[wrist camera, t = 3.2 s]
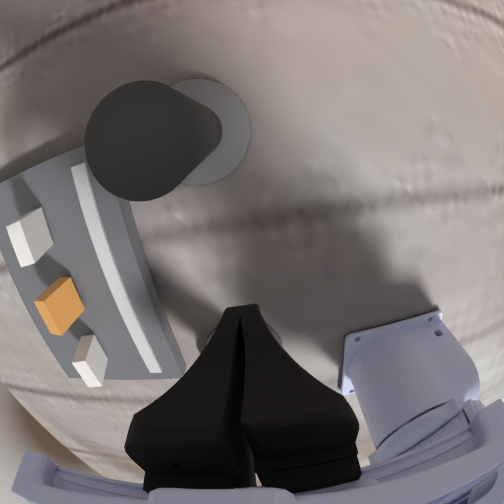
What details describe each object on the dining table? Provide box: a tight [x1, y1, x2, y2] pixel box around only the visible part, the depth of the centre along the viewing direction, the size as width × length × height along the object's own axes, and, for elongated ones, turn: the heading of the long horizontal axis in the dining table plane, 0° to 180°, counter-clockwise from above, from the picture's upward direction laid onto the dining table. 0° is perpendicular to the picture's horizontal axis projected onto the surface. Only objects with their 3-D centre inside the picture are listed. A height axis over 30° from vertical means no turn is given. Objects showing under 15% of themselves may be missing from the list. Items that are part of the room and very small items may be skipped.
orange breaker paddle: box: [34, 277, 85, 336], centre depth 16 cm, size 1×3×3 cm, turn 9°
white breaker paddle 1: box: [6, 207, 54, 267], centre depth 14 cm, size 1×3×3 cm, turn 9°
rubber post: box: [85, 79, 251, 201], centre depth 11 cm, size 6×6×10 cm
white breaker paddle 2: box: [72, 334, 108, 387], centre depth 18 cm, size 1×3×3 cm, turn 9°
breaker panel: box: [0, 145, 186, 380], centre depth 18 cm, size 12×18×2 cm, turn 9°
